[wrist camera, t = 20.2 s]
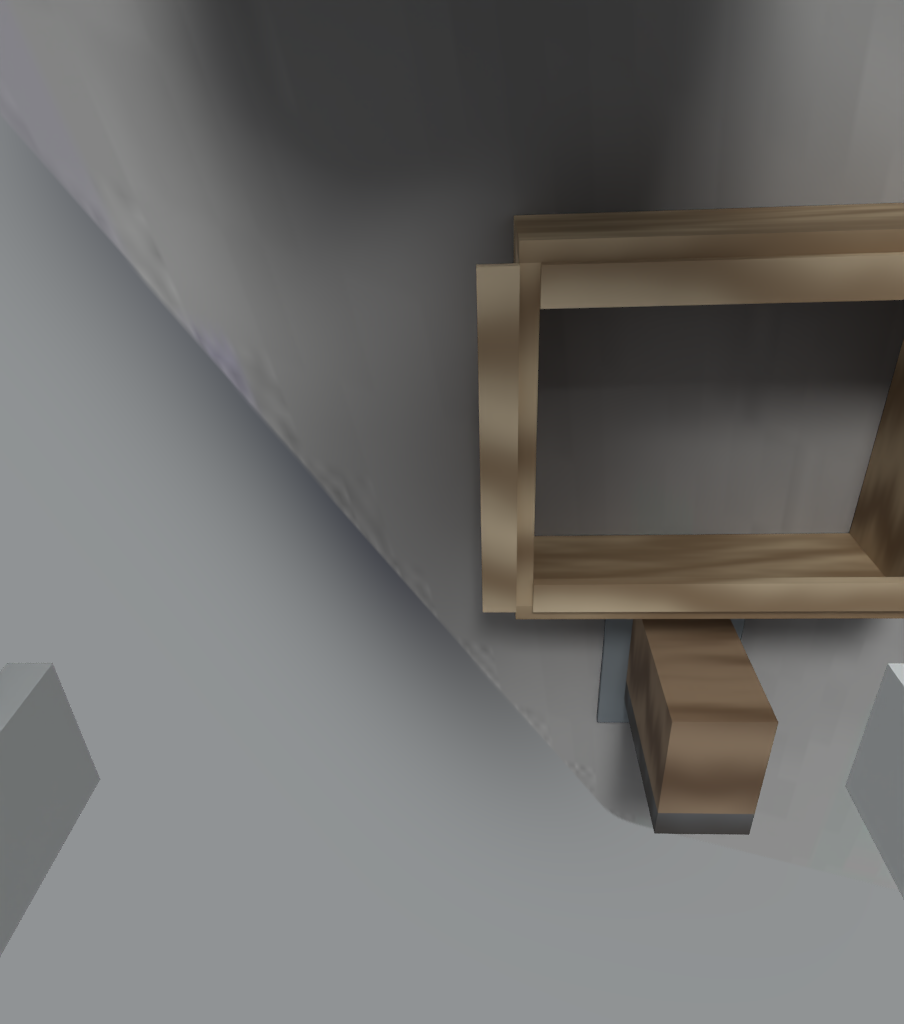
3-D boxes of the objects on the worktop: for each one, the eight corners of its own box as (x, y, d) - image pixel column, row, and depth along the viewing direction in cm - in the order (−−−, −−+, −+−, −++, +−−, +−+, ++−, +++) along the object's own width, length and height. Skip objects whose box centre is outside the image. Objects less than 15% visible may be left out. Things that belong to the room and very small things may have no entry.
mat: (610, 565, 52) (611, 569, 51) (753, 564, 51) (755, 568, 51) (596, 717, 59) (597, 722, 59) (721, 718, 59) (723, 722, 58)
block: (635, 597, 52) (672, 721, 42) (720, 596, 52) (778, 722, 42) (624, 699, 57) (654, 833, 47) (701, 699, 57) (749, 834, 47)
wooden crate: (477, 216, 40) (475, 244, 33) (999, 199, 39) (1121, 224, 31) (483, 548, 51) (483, 625, 44) (890, 545, 50) (961, 624, 42)
